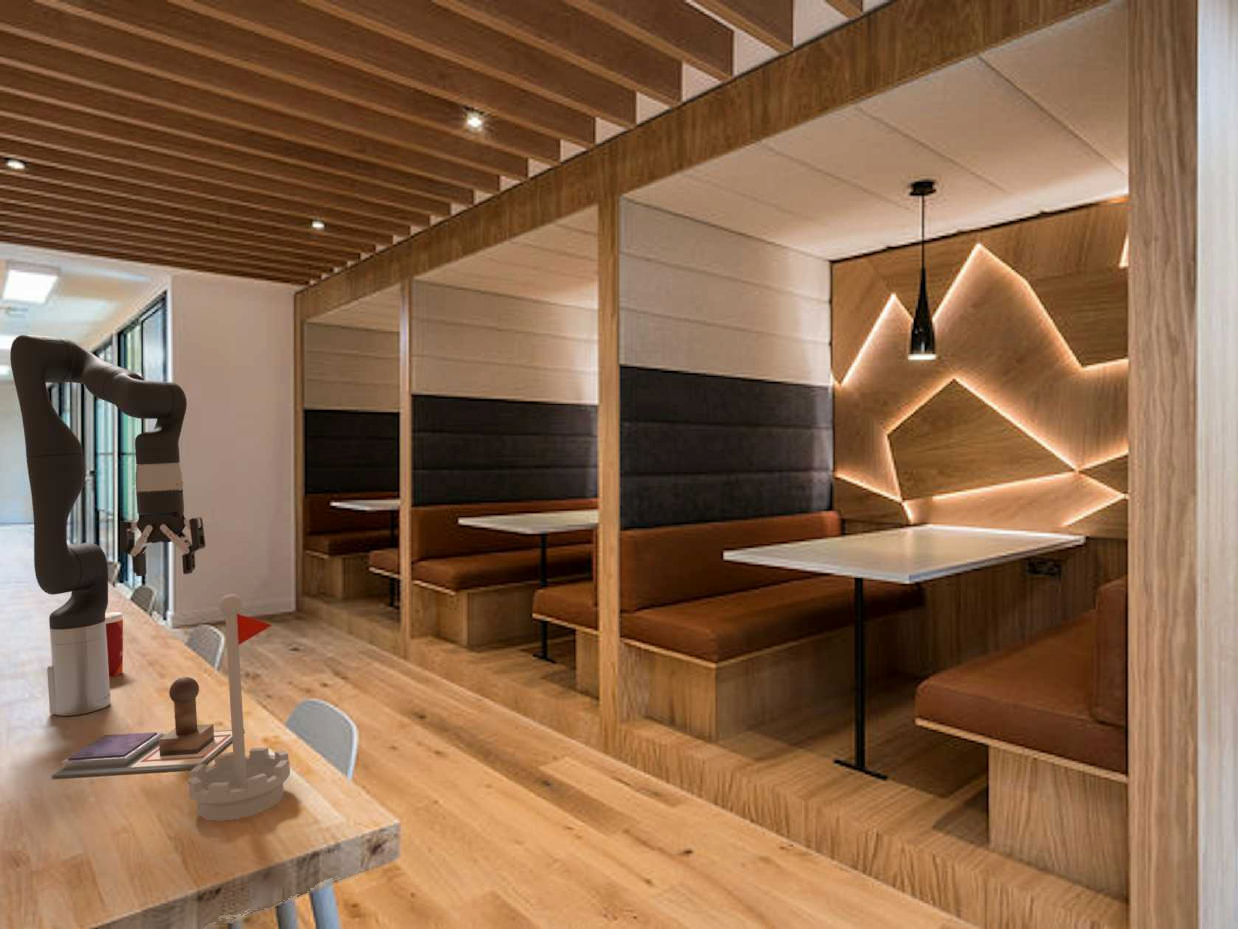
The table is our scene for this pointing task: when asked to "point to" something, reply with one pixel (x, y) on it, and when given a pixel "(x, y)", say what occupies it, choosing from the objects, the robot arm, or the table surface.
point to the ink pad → (112, 750)
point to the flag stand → (238, 745)
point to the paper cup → (114, 642)
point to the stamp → (185, 722)
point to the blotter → (157, 760)
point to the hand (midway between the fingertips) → (164, 574)
